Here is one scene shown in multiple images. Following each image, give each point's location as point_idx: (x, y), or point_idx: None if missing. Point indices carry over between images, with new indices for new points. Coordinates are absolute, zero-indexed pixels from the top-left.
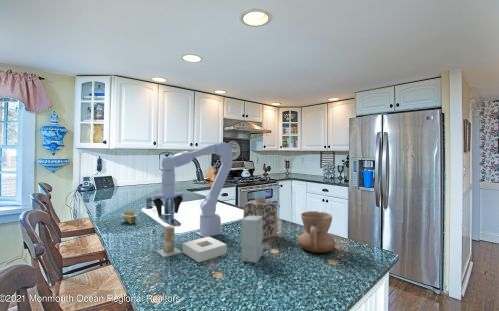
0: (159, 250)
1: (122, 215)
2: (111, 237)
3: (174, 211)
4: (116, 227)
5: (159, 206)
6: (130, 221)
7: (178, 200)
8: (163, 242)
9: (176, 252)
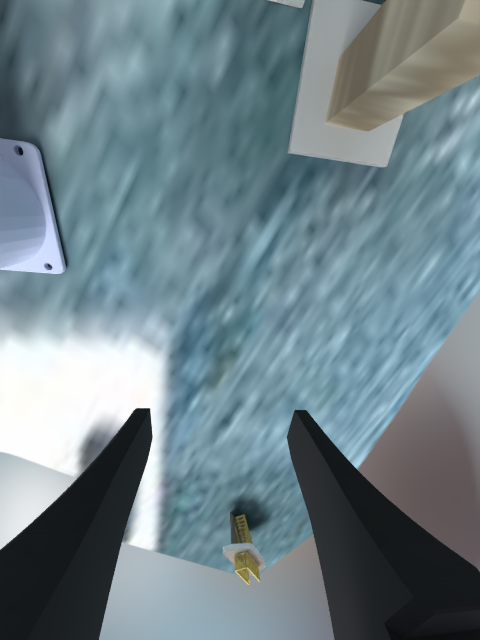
0: (377, 153)
1: (264, 560)
2: (359, 438)
3: (149, 444)
4: (293, 503)
5: (376, 497)
6: (245, 524)
7: (48, 595)
8: (403, 112)
9: (347, 11)
